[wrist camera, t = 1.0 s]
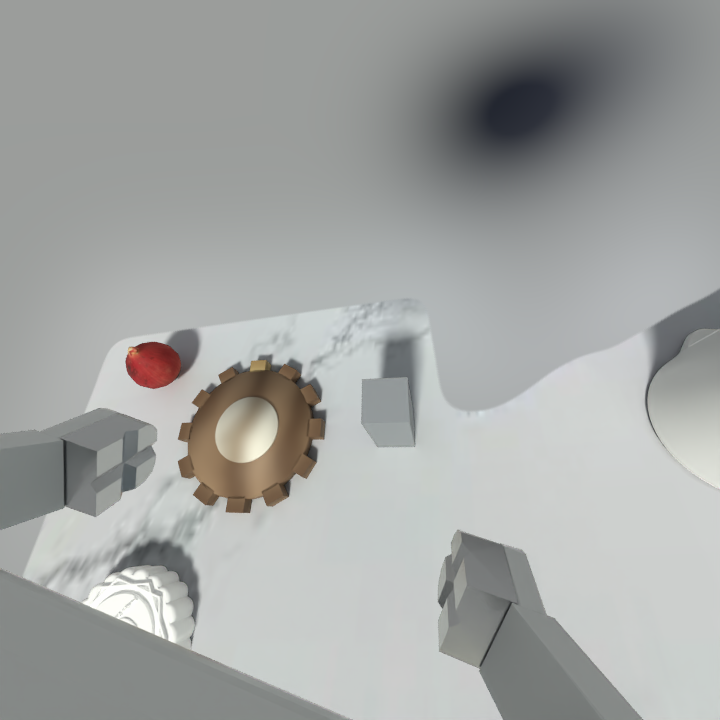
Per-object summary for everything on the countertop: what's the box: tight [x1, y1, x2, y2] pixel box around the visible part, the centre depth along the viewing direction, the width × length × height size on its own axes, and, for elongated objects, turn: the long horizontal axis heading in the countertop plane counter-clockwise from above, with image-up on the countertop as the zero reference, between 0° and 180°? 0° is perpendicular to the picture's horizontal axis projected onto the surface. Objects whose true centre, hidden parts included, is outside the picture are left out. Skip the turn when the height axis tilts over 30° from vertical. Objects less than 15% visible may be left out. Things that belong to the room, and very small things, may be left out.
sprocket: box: [178, 360, 325, 513], centre depth 40 cm, size 18×18×2 cm
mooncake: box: [81, 565, 195, 650], centre depth 33 cm, size 12×12×4 cm
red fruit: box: [126, 342, 181, 389], centre depth 44 cm, size 6×6×8 cm
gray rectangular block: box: [361, 377, 415, 447], centre depth 34 cm, size 4×4×10 cm
